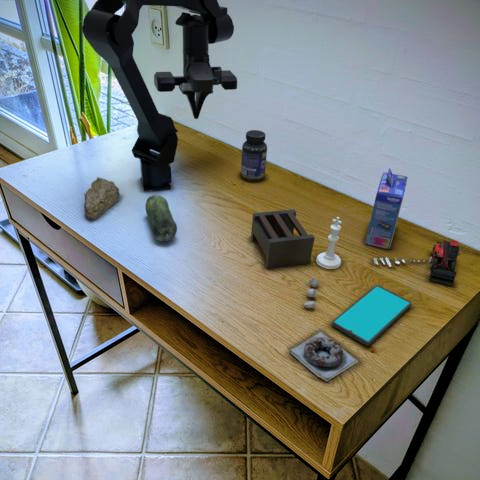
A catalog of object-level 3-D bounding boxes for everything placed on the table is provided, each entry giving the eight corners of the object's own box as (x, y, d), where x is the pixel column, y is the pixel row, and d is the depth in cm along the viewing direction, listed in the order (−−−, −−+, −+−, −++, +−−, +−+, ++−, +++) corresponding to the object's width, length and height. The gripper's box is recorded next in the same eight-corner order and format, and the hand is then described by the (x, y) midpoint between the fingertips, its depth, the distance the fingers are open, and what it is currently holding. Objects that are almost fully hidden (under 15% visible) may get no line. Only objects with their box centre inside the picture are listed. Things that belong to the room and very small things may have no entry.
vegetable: (140, 194, 105) (163, 187, 105) (147, 214, 108) (168, 208, 109) (151, 229, 95) (176, 221, 96) (158, 250, 99) (182, 243, 99)
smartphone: (412, 302, 88) (368, 343, 80) (411, 306, 89) (367, 346, 80) (376, 284, 92) (331, 321, 83) (375, 287, 92) (330, 325, 84)
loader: (452, 287, 94) (461, 266, 91) (428, 281, 95) (436, 261, 92) (452, 254, 103) (460, 235, 100) (430, 249, 104) (437, 230, 101)
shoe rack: (267, 268, 95) (270, 242, 91) (250, 238, 103) (252, 213, 99) (310, 263, 97) (314, 237, 93) (290, 234, 105) (294, 209, 101)
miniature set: (371, 259, 99) (373, 253, 98) (425, 257, 102) (428, 251, 101) (376, 268, 97) (379, 262, 96) (431, 266, 100) (434, 260, 98)
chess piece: (334, 272, 96) (344, 227, 89) (311, 263, 97) (320, 218, 91) (344, 260, 99) (355, 216, 92) (322, 252, 101) (331, 208, 94)
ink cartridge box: (369, 222, 111) (385, 160, 101) (394, 227, 110) (413, 165, 100) (363, 244, 104) (379, 180, 94) (389, 250, 103) (409, 185, 93)
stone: (62, 204, 103) (72, 225, 106) (92, 199, 101) (102, 221, 104) (89, 178, 113) (98, 197, 116) (117, 173, 111) (125, 193, 114)
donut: (287, 350, 78) (289, 341, 77) (321, 332, 82) (323, 323, 81) (324, 383, 74) (327, 373, 72) (358, 361, 78) (361, 352, 76)
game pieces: (319, 283, 92) (308, 284, 93) (317, 274, 91) (307, 275, 91) (315, 312, 87) (304, 312, 87) (314, 303, 85) (302, 303, 86)
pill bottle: (264, 183, 123) (268, 139, 115) (240, 181, 122) (242, 137, 115) (264, 172, 127) (268, 129, 120) (240, 170, 127) (243, 127, 120)
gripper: (160, 57, 102) (163, 132, 112) (246, 56, 106) (241, 128, 117) (151, 44, 110) (155, 115, 120) (232, 43, 114) (229, 112, 125)
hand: (195, 118), depth 120 cm, fingers closed
